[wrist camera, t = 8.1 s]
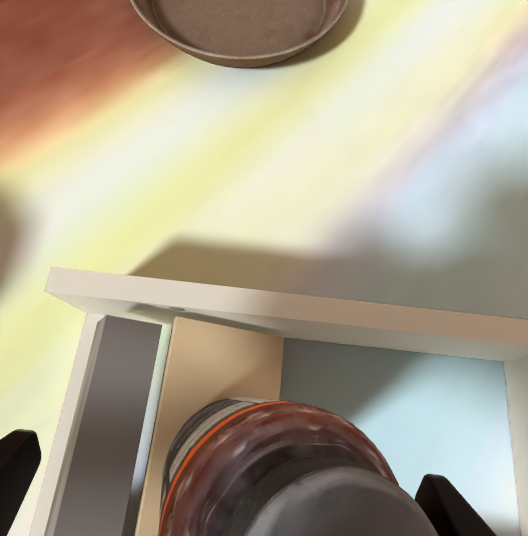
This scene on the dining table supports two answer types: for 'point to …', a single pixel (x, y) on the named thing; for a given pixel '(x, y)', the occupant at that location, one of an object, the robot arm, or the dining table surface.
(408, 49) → the dining table surface
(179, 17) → the plant saucer
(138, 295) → the frame
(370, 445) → the supplement bottle
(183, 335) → the trapdoor
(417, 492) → the robot arm
